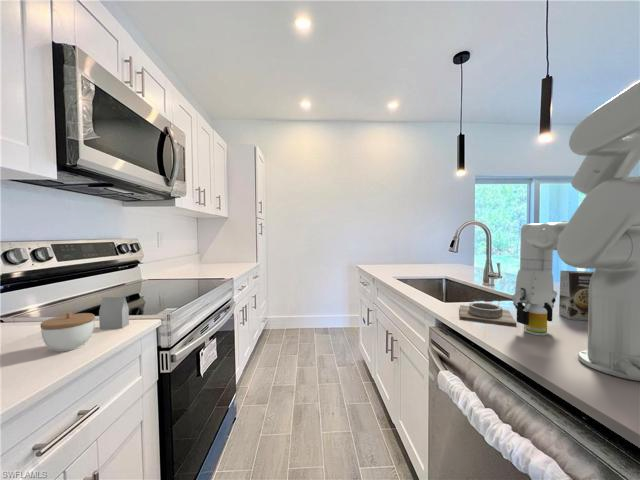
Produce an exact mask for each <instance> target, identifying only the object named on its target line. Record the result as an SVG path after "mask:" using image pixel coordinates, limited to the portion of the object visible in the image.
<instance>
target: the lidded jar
mask: <svg viewBox="0 0 640 480" xmlns="http://www.w3.org/2000/svg"><path fill="white" fill-rule="evenodd" d="M95 319H96V318H95V314H93V313H91V312H83V313H79V312H78V313H72V312H71V311H69V312H66V313H65V315H60V316H56V317H52V318H49V319H46V320H44V321H42V322H41V323H40V328H41V330H40V331H41V338H42V340H43V343H44V344H45V346H47V348H49V349H51V350H53V351H54V352H55V353H62V352H63V353H65V352H69V351H73V350H76V349H79V348H81V347H83V346H85V344H86V343H87V342H88V341H89V339H90V338H91V337H92V335H93V333H94V329H95Z"/></svg>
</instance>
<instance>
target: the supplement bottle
mask: <svg viewBox="0 0 640 480" xmlns="http://www.w3.org/2000/svg"><path fill="white" fill-rule="evenodd" d="M543 306H544V302H540V303H539V304H531V305H530V307H529V309H528V310H527V311H529V325H525V324H523V330H524V332H525V333H528V334H530V335H534V336H547V334H548V321H547V310H546V309H545V308H543Z"/></svg>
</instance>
